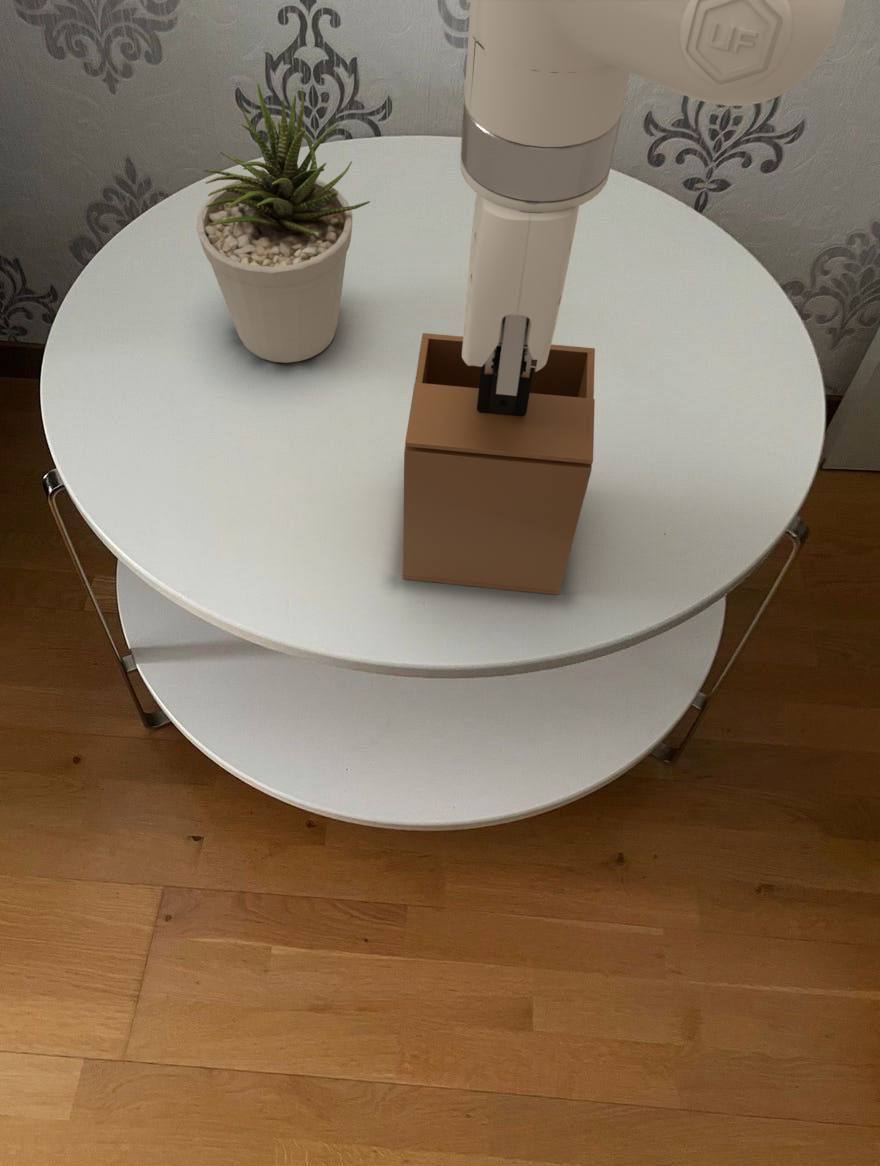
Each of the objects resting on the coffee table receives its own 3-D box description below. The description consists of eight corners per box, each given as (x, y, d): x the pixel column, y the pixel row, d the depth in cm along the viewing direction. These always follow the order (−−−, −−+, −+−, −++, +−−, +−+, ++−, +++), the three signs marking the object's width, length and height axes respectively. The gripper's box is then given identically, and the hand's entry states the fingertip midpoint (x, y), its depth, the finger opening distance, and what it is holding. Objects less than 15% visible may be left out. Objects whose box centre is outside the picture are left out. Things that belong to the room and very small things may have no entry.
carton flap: (593, 403, 65) (594, 398, 64) (592, 464, 62) (593, 460, 62) (414, 386, 65) (414, 382, 65) (405, 446, 63) (405, 442, 62)
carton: (563, 483, 80) (595, 347, 68) (558, 595, 75) (591, 469, 62) (418, 469, 81) (422, 332, 68) (402, 579, 75) (404, 451, 63)
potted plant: (387, 360, 87) (385, 149, 70) (235, 394, 85) (195, 184, 68) (347, 271, 93) (337, 56, 76) (205, 300, 91) (161, 86, 74)
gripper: (474, 49, 52) (454, 322, 68) (447, 229, 45) (432, 489, 60) (615, 60, 52) (563, 331, 67) (613, 243, 44) (554, 501, 60)
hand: (501, 405), depth 64 cm, fingers closed
